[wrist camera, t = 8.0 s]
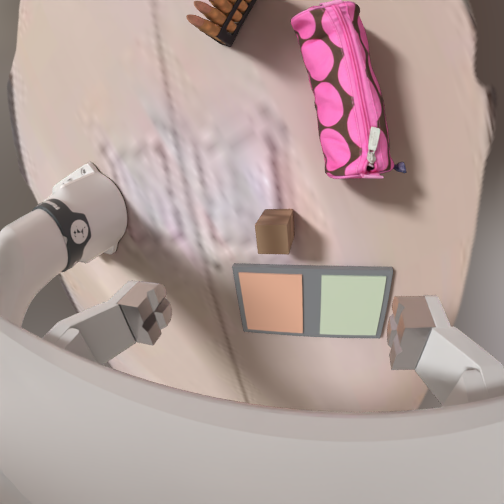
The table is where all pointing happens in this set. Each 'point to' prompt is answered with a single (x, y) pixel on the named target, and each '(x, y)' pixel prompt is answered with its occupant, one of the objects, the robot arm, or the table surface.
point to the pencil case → (344, 91)
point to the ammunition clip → (222, 18)
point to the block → (275, 231)
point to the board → (313, 299)
